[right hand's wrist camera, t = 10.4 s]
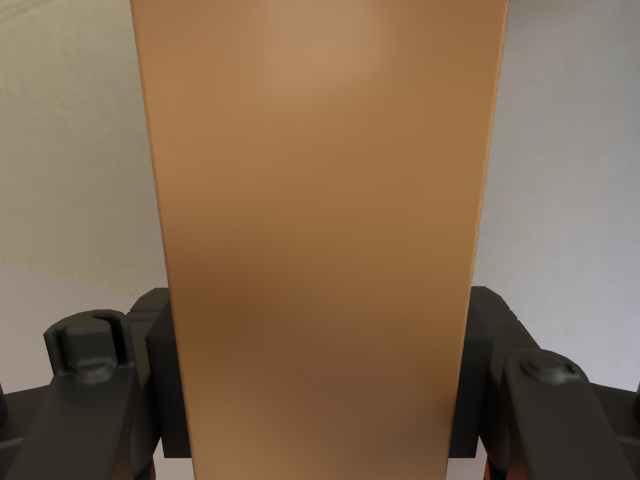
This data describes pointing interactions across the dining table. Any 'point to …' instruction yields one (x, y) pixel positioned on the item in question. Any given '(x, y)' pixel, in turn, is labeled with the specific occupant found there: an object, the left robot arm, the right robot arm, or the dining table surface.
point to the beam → (319, 223)
